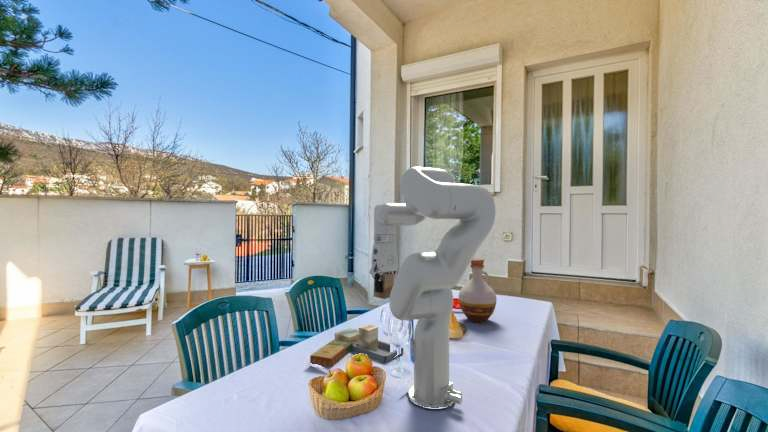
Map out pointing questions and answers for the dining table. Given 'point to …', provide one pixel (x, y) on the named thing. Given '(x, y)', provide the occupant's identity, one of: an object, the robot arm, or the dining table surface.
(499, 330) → the dining table surface
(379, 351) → the tray
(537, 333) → the dining table surface
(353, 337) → the stand
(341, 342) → the reddish brown flat block
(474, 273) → the jug
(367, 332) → the beech block
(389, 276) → the walnut block
